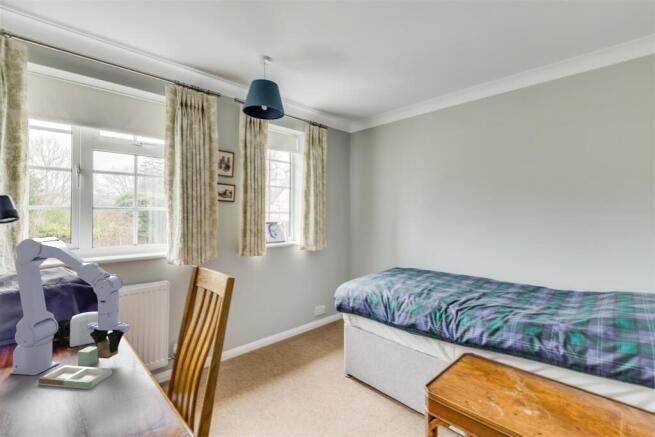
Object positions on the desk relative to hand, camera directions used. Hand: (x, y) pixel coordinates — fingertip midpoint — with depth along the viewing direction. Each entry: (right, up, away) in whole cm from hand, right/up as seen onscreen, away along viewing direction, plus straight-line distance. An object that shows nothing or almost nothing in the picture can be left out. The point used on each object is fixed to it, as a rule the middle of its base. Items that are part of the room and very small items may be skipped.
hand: (108, 351), depth 100 cm
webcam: (-32, -5, +17) cm, 37 cm away
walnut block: (0, -2, 0) cm, 2 cm away
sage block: (-8, -5, +2) cm, 10 cm away
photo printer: (-22, -5, +18) cm, 29 cm away
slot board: (-4, -5, -8) cm, 10 cm away
